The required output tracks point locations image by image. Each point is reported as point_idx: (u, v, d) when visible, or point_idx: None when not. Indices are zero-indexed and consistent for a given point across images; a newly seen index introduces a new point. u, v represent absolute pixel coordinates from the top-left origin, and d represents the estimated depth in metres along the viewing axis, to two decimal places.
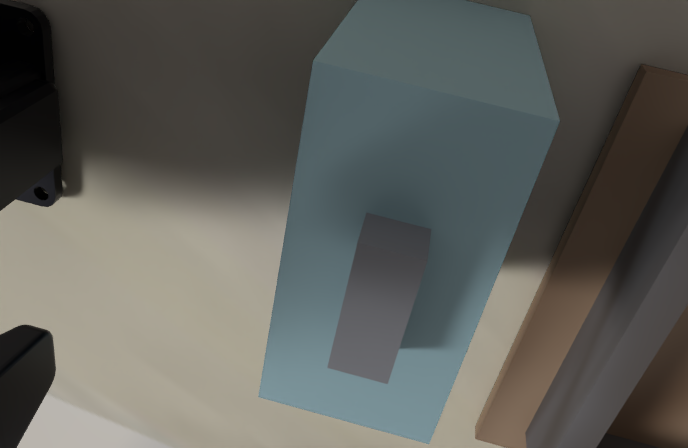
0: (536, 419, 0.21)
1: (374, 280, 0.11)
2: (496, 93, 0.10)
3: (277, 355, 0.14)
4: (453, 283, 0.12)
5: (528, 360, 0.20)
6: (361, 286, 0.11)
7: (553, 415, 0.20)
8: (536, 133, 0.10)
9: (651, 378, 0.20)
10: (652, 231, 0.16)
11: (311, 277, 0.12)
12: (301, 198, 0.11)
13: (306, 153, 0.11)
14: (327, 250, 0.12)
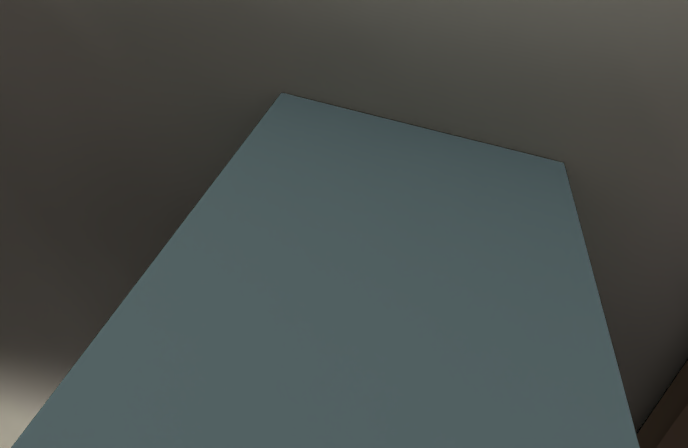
0: None
1: None
2: None
3: None
4: None
5: None
6: None
7: None
8: None
9: None
10: None
11: None
12: None
13: None
14: None
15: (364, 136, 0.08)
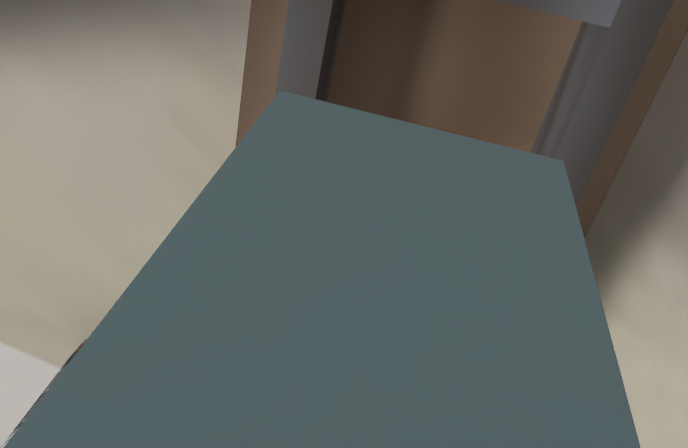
0: None
1: None
2: None
3: None
4: None
5: None
6: None
7: None
8: None
9: None
10: None
11: None
12: None
13: None
14: None
15: (365, 134, 0.08)
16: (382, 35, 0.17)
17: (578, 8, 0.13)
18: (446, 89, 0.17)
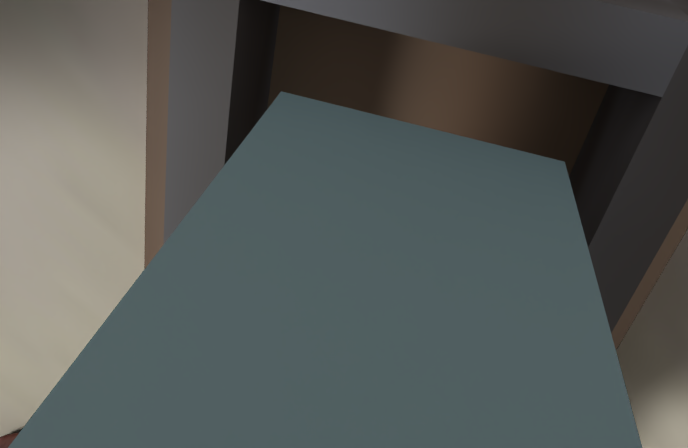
0: None
1: None
2: None
3: None
4: None
5: None
6: None
7: None
8: None
9: None
10: None
11: None
12: None
13: None
14: None
15: (365, 135, 0.08)
16: (329, 89, 0.12)
17: (612, 67, 0.08)
18: None
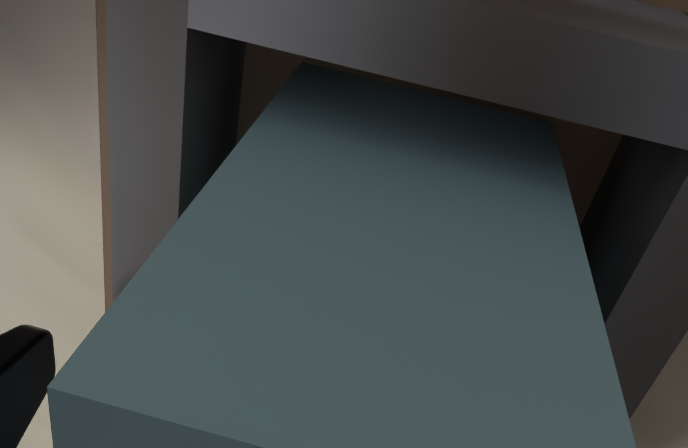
0: None
1: None
2: (500, 439, 0.04)
3: None
4: None
5: None
6: None
7: None
8: None
9: None
10: None
11: None
12: None
13: None
14: None
15: (377, 98, 0.09)
16: None
17: (639, 117, 0.07)
18: None
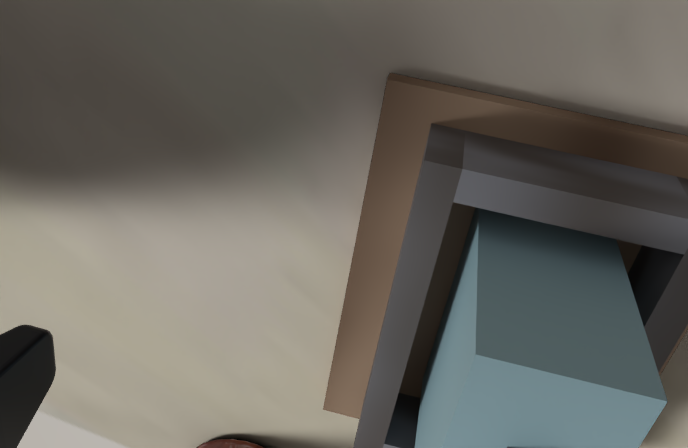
0: (366, 389, 0.24)
1: None
2: (613, 369, 0.14)
3: None
4: None
5: (350, 335, 0.23)
6: None
7: (368, 383, 0.22)
8: (648, 407, 0.13)
9: None
10: (409, 216, 0.19)
11: None
12: (455, 435, 0.15)
13: (463, 408, 0.14)
14: None
15: (523, 218, 0.18)
16: None
17: (657, 240, 0.16)
18: None
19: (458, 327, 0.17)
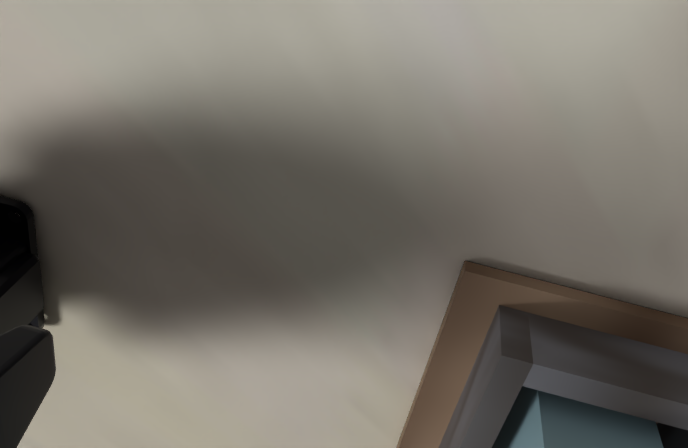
0: None
1: None
2: None
3: None
4: None
5: None
6: None
7: None
8: None
9: None
10: (476, 379, 0.22)
11: None
12: None
13: None
14: None
15: None
16: None
17: None
18: None
19: None
